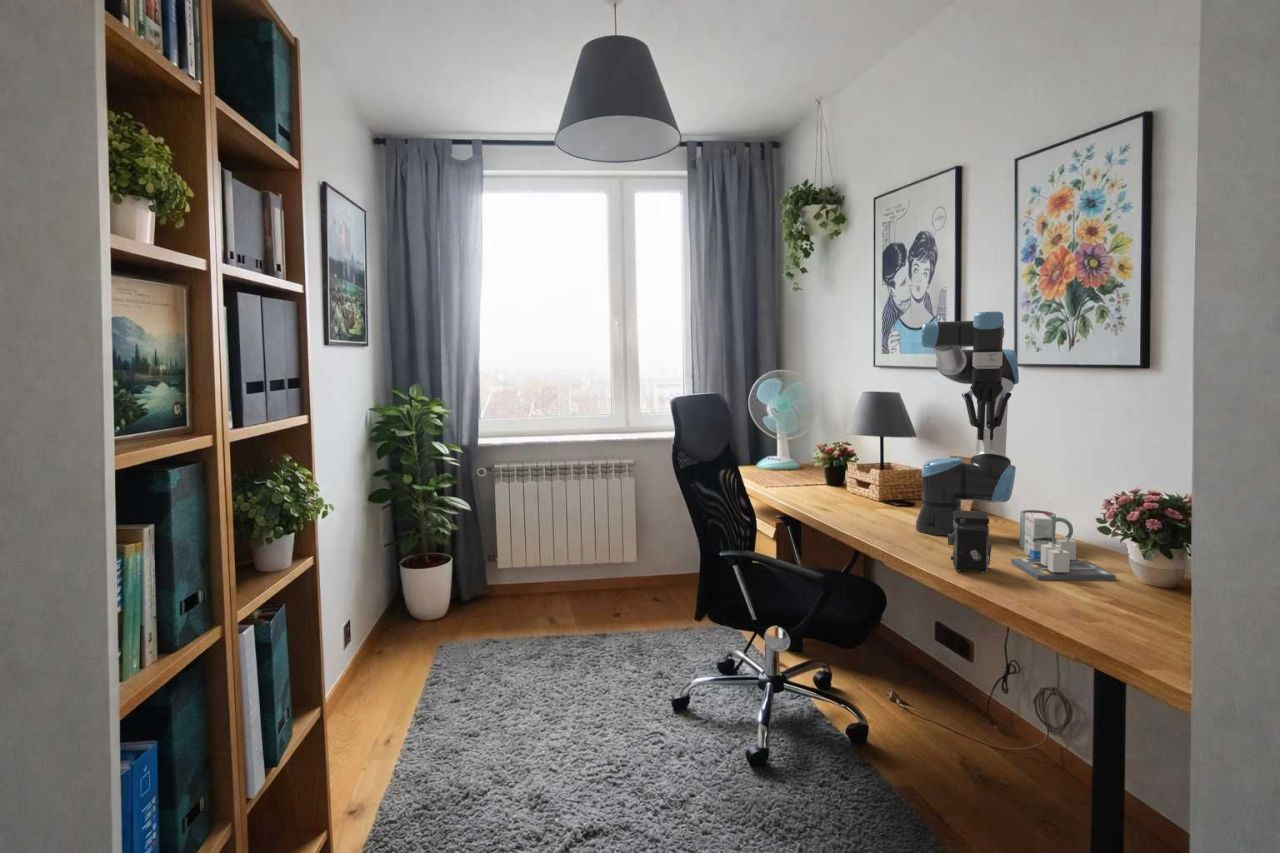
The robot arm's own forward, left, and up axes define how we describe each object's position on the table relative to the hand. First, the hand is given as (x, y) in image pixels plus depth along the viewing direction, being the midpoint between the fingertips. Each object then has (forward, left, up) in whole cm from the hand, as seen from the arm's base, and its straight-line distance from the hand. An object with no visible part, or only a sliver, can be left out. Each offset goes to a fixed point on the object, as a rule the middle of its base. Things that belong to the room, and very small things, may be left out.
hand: (984, 451), depth 207 cm
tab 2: (+12, +17, -28) cm, 35 cm away
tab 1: (+17, +11, -28) cm, 34 cm away
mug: (-7, +21, -30) cm, 37 cm away
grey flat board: (+17, +14, -29) cm, 37 cm away
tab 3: (+22, +10, -28) cm, 37 cm away
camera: (+14, -9, -30) cm, 34 cm away
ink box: (+3, +14, -30) cm, 33 cm away
